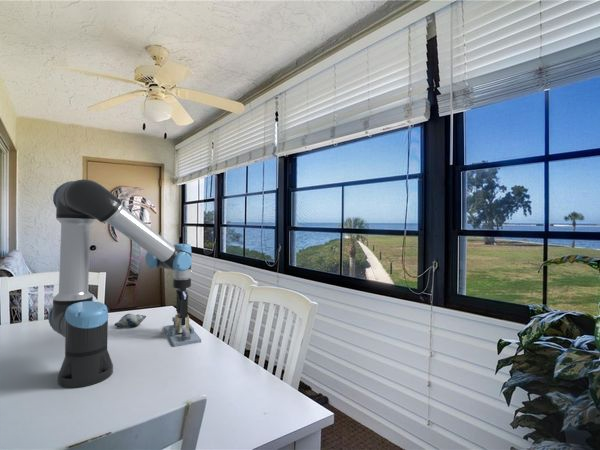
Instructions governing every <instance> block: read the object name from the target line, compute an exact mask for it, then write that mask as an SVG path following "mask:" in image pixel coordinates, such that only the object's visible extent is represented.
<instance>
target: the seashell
mask: <svg viewBox="0 0 600 450" xmlns="http://www.w3.org/2000/svg"><path fill="white" fill-rule="evenodd" d="M146 318H147V315H143V314H134V313H127V314H124V315H123V316H122V317H121V318H120V319H119V320H118V321H117V322H115V323H114V326H115V327H116V328H119V327H128V328H129V327H130V328H137V327H138V326H141V323H142V322H143V321H144V320H145V319H146Z"/></svg>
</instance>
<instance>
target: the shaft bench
mask: <svg viewBox="0 0 600 450" xmlns="http://www.w3.org/2000/svg"><path fill="white" fill-rule="evenodd" d="M171 319H172V322H173V324H171V325H170V324H169V325H164V326H163V330H164V331H165V333H166V335H167V337H168V338H169V340H170V343H171V344H172V346H173V347H174V348H175V347H180V346H186V345H187V346H188V345H192V344H198V343H199V344H200V343H202V339H201V336H199V334H198V333H197V332H196V331H195V328H194V327H193V326H192V324H191V323H189V330H188V329H187V327H186V328H182V333H177V332H176V330H175V316H173V317H172V318H171Z"/></svg>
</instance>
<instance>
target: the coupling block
mask: <svg viewBox="0 0 600 450" xmlns="http://www.w3.org/2000/svg"><path fill="white" fill-rule="evenodd" d="M174 315H175V316H174V317H175V330H176V332H177V333H180V332H179V330H180V318H179V317H180V314H177V313H176V314H174ZM189 324H190V316H189V314H188V317H186V327H187V329H188V330H189ZM181 333H182V332H181Z"/></svg>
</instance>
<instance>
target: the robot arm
mask: <svg viewBox="0 0 600 450" xmlns="http://www.w3.org/2000/svg"><path fill="white" fill-rule="evenodd" d="M52 202H53V205H54V207H55V208H56V210H55V220H57V221H58V222H59V223H60V224H61V225H60V249H59V252H60V253H59V274H58V279H59V280H58V293H57V294H56V295H54V297H52V307H50V310H49V312H48V317H47V319H48V322H49V323H48V324H49V325H50V327H51V328H52V330H53V331H54V332H56V333H57V334H60V336H62V337H64V358H63V361H62V364H61V366H60V369H59V372H58V375H57V384H58V385H59V386H60V387H64V388H72V389H73V388H81V387H82V388H84V387H87V386H91V385H95V384H98V383H101V382H102V381H105V380H106V379H108V378H110V377H111V376H112V375H113V373H114V364H113V361H112V359H111V355H110V353H109V350H108V335H109V334H108V333H109V328H108V324H109V323H108V322H109V312H108V310H109V309H108V307H107V305H106V304H104V303H103V302H100V301H94V300H93V299H94V295H93V294H92V293H91V292H90V291H89V278H90V277H89V275H90V274H89V272H90V271H89V270H90V246H91V244H90V243H91V225H92V224H93V223H94V222H95V221H96V220H97V221H99V222H100V223H101V224H103V223H106V224H108V225H110V226H111V227H112V228H114V229H115V230H116V231H118V232H119V233H121V234H122V235H124V236H125V237H126V238H128V239H129V240H131V241H132V242H134V243H135V244H136V245H138V246H139V247H141V248H142V249H143V250H145V251H146V254H145V257H144V258H145V259H144V260H145V261H144V262H145V264H146V265H145V266H146V267H148V268H149V269H158V268H159V269H160V268H162V269H167V270H171V271H172V273H173V274H172V277H173V280H172V286H173V288H175V289H176V291H175V292H176V293H175V294H176V302H175V303H176V304H175V305H176V307H175V309H176V310H175V311H176V315H177V314H180V317H179V318H180V330H179V332H180V333H181V332H182V328H186V317H188V315H189V314H188V313H189V312H188V311H189V310H188V308H189V306H188V305H189V303H188V302H189V294H188V291H187V288H191V286H192V279H191V277H192V273H193V270H192V263H193V260H192V259H193V258H192V256H193V255H192V246H191V244H189V243H175V244H174V245H173V244H172V243H171V242H169V241H168V240H167V239H166V238H164V237H163V236H162V235H161V234H159V233H158V232H156V231H155V230H154V229H152V227H150V226H149V225H148V224H146V223H145V222H144V221H142V220H141V219H140V218H139V217H137V216H136V215H135V214H134V213H132V212H131V211H130V210H129V209H128V208H126V206H123V201H122V200H121V199H119V198H118V197H117V196H116V195H115V194H114V193H112V192H110V191H109V190H108V189H107V188H105V187H104V186H103V185H101V184H100V183H98V182H96V181H94V180H91V179H86V178H85V179H77V180H71V181H66V182H64V183H62V184H60V185H59V186H57V188H56V189H54V192H53V195H52Z"/></svg>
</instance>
